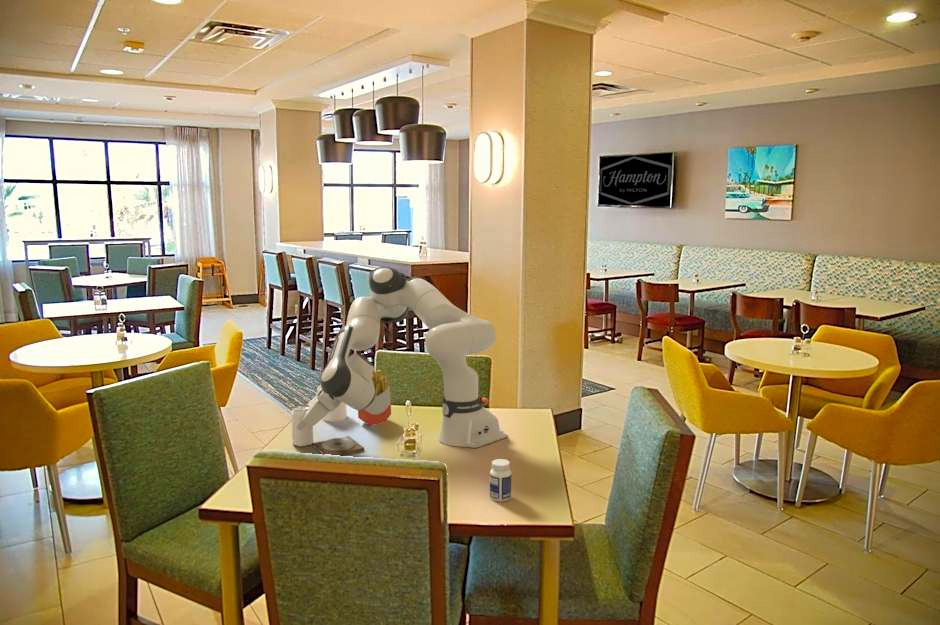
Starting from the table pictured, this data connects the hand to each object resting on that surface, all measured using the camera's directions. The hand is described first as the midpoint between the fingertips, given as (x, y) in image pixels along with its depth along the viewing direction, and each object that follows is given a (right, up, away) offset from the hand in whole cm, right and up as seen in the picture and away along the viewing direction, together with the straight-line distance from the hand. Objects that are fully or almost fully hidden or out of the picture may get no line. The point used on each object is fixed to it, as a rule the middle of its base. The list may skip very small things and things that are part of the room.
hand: (300, 424), depth 216 cm
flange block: (+13, -7, -3) cm, 15 cm away
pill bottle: (+62, -14, -36) cm, 73 cm away
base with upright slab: (+5, -2, +26) cm, 27 cm away
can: (+1, -7, +1) cm, 7 cm away
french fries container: (+21, -3, +21) cm, 30 cm away
